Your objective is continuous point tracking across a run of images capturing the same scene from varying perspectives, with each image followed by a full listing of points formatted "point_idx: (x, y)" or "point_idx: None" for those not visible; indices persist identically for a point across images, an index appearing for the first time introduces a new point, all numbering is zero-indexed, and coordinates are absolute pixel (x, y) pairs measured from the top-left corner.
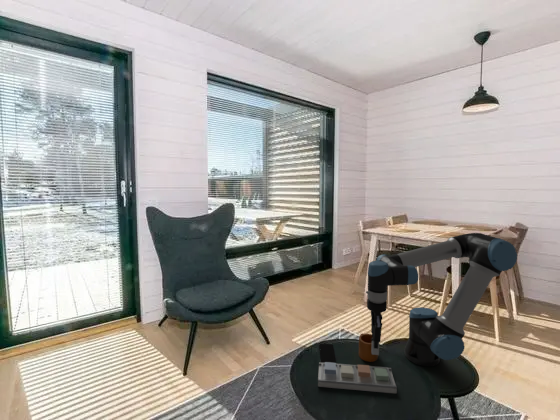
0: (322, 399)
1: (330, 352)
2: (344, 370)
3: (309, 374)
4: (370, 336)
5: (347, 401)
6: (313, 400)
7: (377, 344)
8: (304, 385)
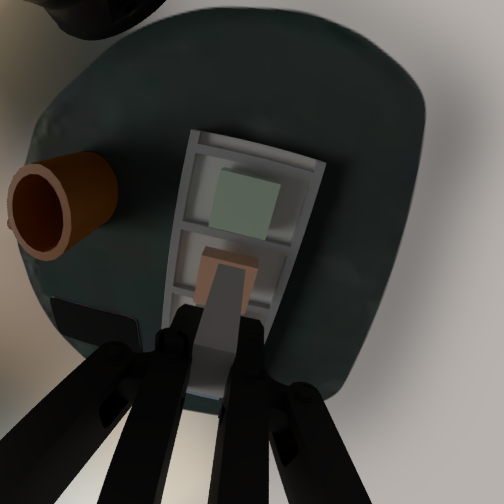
0: None
1: (87, 318)
2: None
3: None
4: (18, 192)
5: (318, 335)
6: None
7: (263, 354)
8: None
